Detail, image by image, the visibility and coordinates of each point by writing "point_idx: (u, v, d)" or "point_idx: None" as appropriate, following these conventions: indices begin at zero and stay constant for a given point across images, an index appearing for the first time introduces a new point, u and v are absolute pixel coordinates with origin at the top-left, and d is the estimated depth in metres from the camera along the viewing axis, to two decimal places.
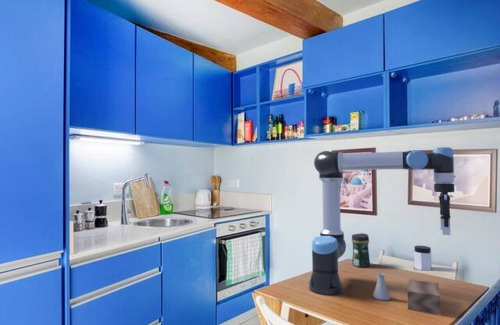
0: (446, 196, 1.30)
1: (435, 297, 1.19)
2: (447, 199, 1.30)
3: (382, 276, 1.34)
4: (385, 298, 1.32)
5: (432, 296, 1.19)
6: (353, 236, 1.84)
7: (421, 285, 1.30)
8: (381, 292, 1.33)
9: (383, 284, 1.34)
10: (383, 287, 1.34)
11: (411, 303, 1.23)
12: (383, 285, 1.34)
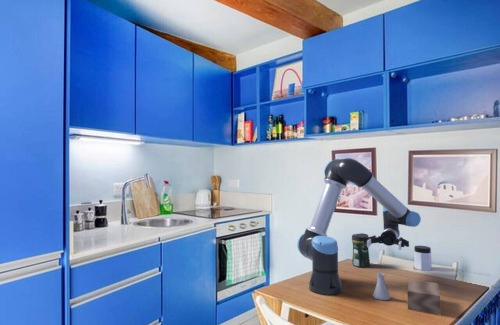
0: None
1: (435, 297, 1.19)
2: None
3: (382, 276, 1.34)
4: (385, 298, 1.32)
5: (432, 296, 1.19)
6: (353, 236, 1.84)
7: (421, 285, 1.30)
8: (381, 292, 1.33)
9: (383, 284, 1.34)
10: (383, 287, 1.34)
11: (411, 303, 1.23)
12: (383, 285, 1.34)
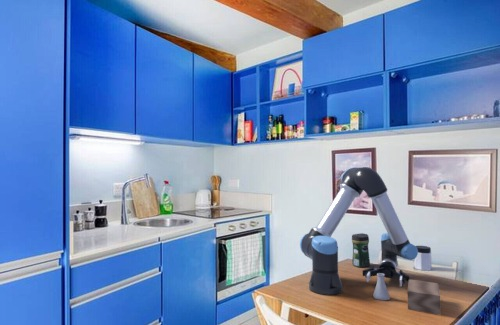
0: None
1: (435, 297, 1.19)
2: None
3: (382, 276, 1.34)
4: (385, 298, 1.32)
5: (432, 296, 1.19)
6: (353, 236, 1.84)
7: (421, 285, 1.30)
8: (381, 292, 1.33)
9: (383, 284, 1.34)
10: (383, 287, 1.34)
11: (411, 303, 1.23)
12: (383, 285, 1.34)
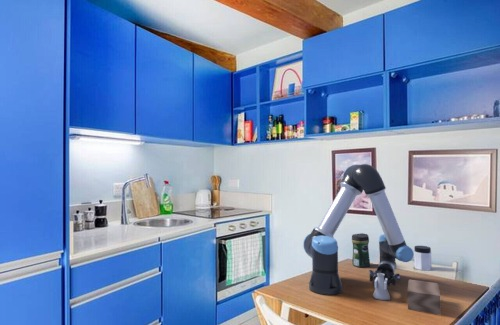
0: (399, 277, 1.44)
1: (435, 297, 1.19)
2: (397, 279, 1.43)
3: (382, 276, 1.34)
4: (385, 298, 1.32)
5: (432, 296, 1.19)
6: (353, 236, 1.84)
7: (421, 285, 1.30)
8: (381, 292, 1.33)
9: (383, 284, 1.34)
10: (383, 287, 1.34)
11: (411, 303, 1.23)
12: (383, 285, 1.34)
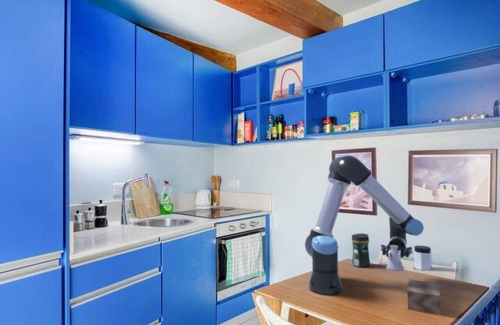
0: (411, 251, 1.43)
1: (435, 297, 1.19)
2: (410, 252, 1.42)
3: (396, 248, 1.33)
4: (399, 269, 1.31)
5: (432, 296, 1.19)
6: (353, 236, 1.84)
7: (421, 285, 1.30)
8: (394, 264, 1.32)
9: (397, 256, 1.33)
10: (397, 258, 1.32)
11: (411, 303, 1.23)
12: (397, 257, 1.33)
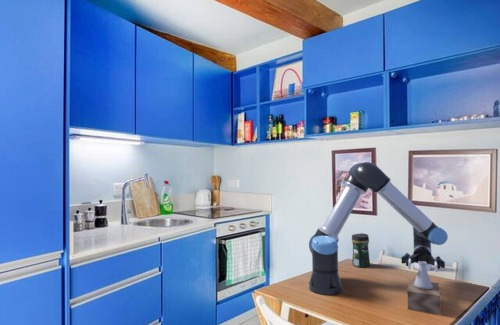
0: None
1: (435, 297, 1.19)
2: None
3: (424, 264, 1.27)
4: (428, 287, 1.25)
5: (432, 296, 1.19)
6: (353, 236, 1.84)
7: None
8: (423, 281, 1.26)
9: (425, 272, 1.27)
10: (426, 276, 1.26)
11: (411, 303, 1.23)
12: (426, 273, 1.27)
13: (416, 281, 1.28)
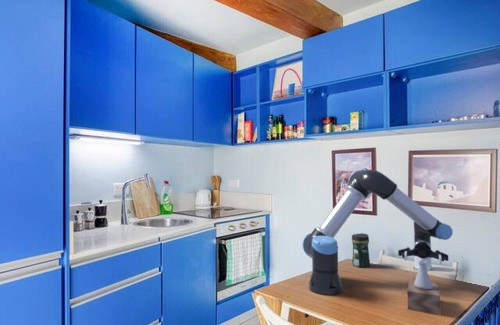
0: None
1: (435, 297, 1.19)
2: None
3: (424, 264, 1.27)
4: (428, 287, 1.25)
5: (432, 296, 1.19)
6: (353, 236, 1.84)
7: None
8: (423, 281, 1.26)
9: (425, 272, 1.27)
10: (426, 276, 1.26)
11: (411, 303, 1.23)
12: (426, 273, 1.27)
13: (416, 281, 1.28)
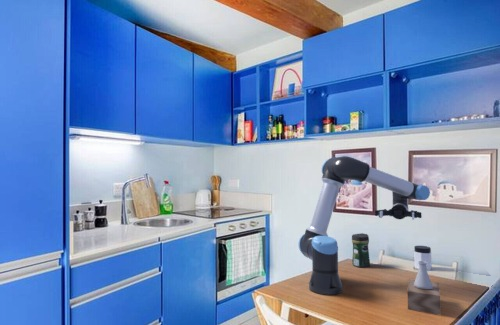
0: None
1: (435, 297, 1.19)
2: None
3: (424, 264, 1.27)
4: (428, 287, 1.25)
5: (432, 296, 1.19)
6: (353, 236, 1.84)
7: None
8: (423, 281, 1.26)
9: (425, 272, 1.27)
10: (426, 276, 1.26)
11: (411, 303, 1.23)
12: (426, 273, 1.27)
13: (416, 281, 1.28)
